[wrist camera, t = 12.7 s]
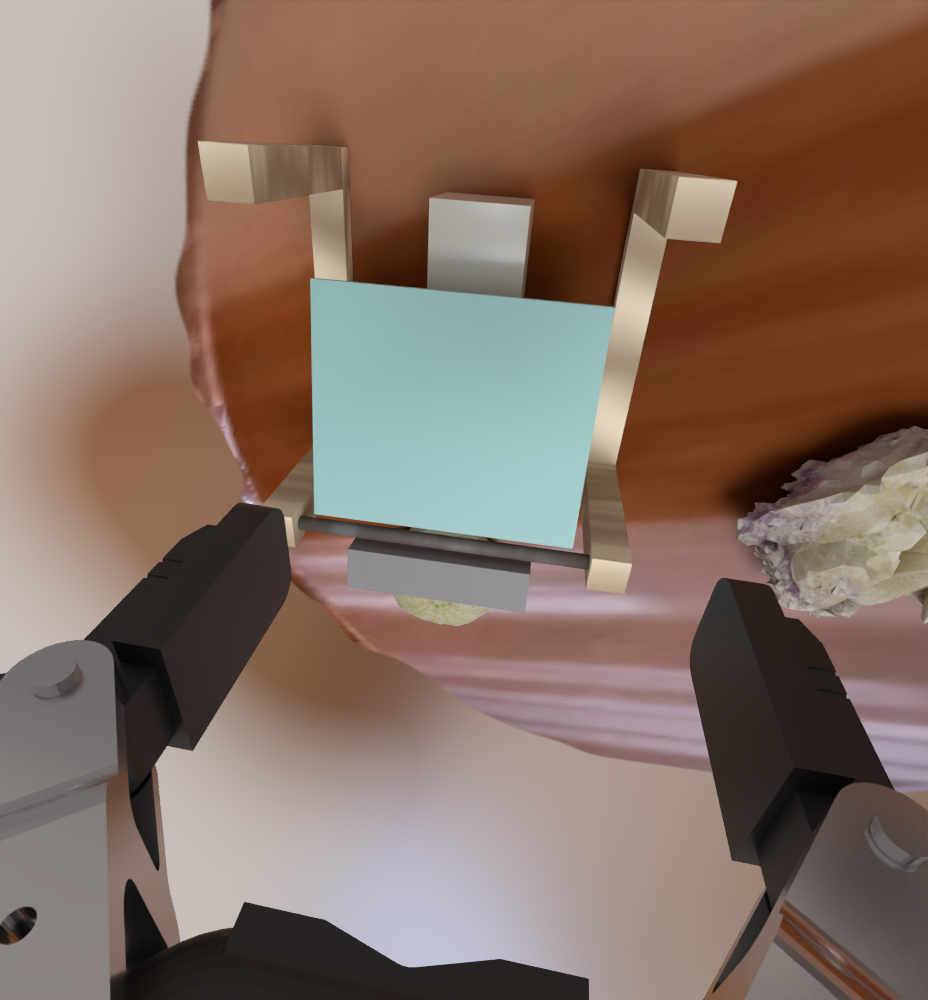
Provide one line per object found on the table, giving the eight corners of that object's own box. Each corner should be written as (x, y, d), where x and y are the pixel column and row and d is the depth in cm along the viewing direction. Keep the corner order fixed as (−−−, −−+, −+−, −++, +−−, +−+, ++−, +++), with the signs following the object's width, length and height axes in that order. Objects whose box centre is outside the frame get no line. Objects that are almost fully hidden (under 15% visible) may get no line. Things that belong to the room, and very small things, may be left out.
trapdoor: (560, 602, 33) (560, 618, 31) (323, 568, 34) (313, 581, 32) (611, 306, 26) (615, 308, 25) (320, 278, 28) (307, 278, 26)
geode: (976, 468, 41) (890, 329, 35) (1147, 521, 33) (1073, 350, 26) (805, 636, 44) (695, 534, 37) (922, 726, 35) (807, 613, 29)
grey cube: (443, 284, 35) (447, 192, 32) (524, 292, 34) (535, 198, 32) (426, 302, 31) (429, 198, 28) (519, 311, 30) (530, 206, 28)
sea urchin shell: (364, 527, 43) (420, 572, 37) (448, 487, 47) (512, 522, 41) (389, 619, 48) (442, 671, 42) (464, 575, 51) (523, 618, 45)
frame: (313, 144, 32) (197, 141, 22) (678, 171, 30) (737, 181, 20) (333, 448, 42) (260, 542, 32) (608, 482, 40) (624, 593, 30)
